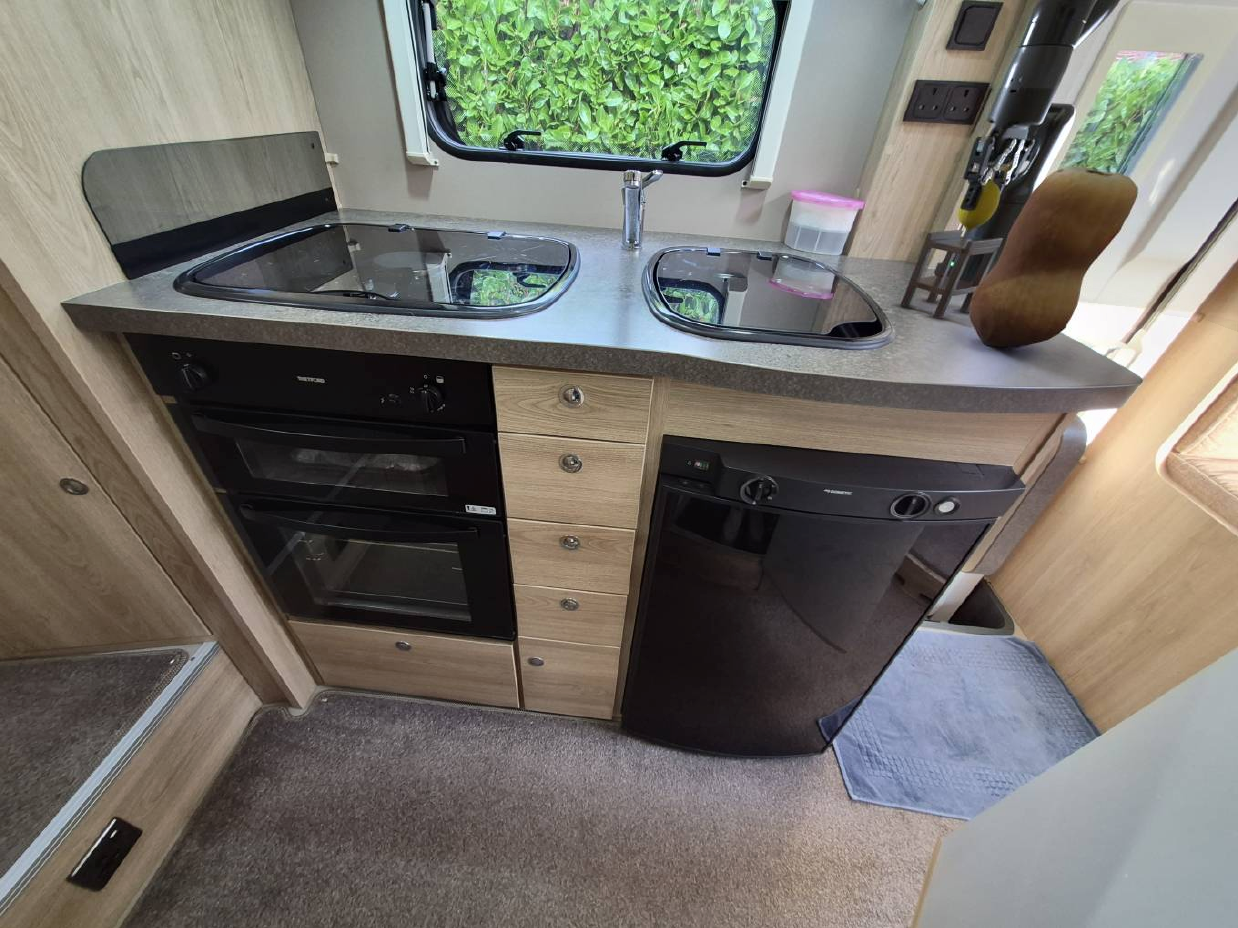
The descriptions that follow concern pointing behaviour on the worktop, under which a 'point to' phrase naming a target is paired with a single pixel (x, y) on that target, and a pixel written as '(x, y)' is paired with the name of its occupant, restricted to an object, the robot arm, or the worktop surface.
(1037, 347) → the worktop surface
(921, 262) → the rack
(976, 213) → the lemon
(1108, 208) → the butternut squash
